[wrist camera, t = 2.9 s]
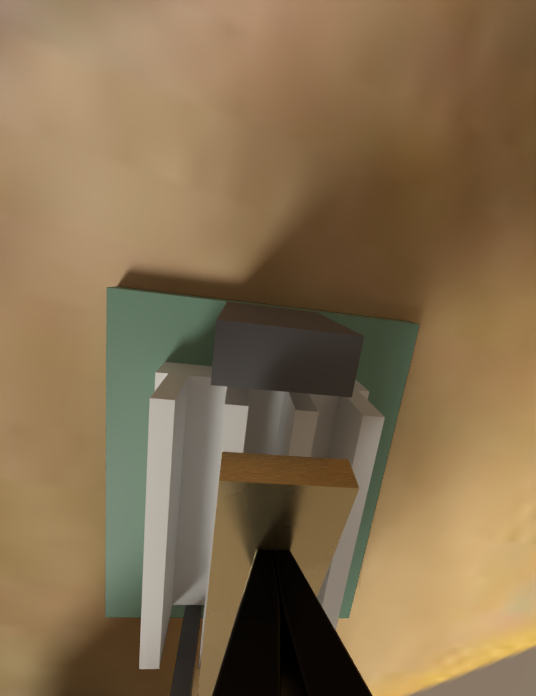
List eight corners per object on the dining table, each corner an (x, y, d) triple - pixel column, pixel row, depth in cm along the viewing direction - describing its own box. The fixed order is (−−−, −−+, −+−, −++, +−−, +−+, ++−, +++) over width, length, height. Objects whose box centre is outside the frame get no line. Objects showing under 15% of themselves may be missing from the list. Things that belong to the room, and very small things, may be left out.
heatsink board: (343, 600, 19) (393, 761, 13) (112, 598, 18) (40, 779, 11) (408, 321, 15) (528, 354, 9) (116, 286, 13) (6, 296, 7)
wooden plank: (267, 694, 13) (268, 722, 12) (197, 696, 13) (194, 724, 12) (348, 459, 7) (359, 488, 6) (222, 451, 7) (218, 481, 6)
